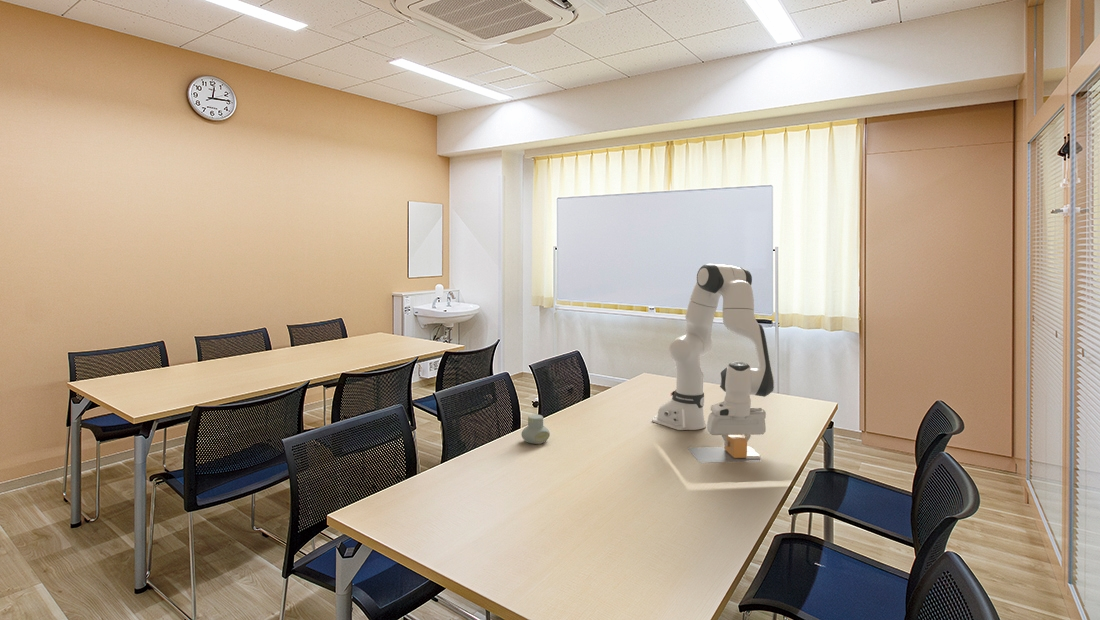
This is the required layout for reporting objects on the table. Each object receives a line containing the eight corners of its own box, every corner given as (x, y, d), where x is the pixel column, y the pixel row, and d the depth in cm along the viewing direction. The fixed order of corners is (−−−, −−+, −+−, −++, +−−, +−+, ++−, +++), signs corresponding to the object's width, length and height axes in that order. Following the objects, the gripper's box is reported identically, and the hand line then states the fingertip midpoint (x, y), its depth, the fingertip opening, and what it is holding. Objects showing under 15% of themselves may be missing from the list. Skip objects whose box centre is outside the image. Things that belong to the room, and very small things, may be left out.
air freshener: (530, 447, 204) (529, 422, 203) (518, 441, 211) (517, 416, 210) (553, 441, 211) (553, 416, 209) (541, 435, 217) (541, 411, 216)
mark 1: (740, 453, 195) (741, 451, 195) (736, 449, 199) (736, 446, 199) (754, 453, 195) (754, 450, 195) (749, 449, 199) (750, 446, 199)
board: (699, 466, 187) (699, 462, 187) (686, 451, 201) (686, 447, 201) (761, 465, 188) (762, 461, 188) (744, 450, 202) (744, 446, 202)
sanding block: (746, 457, 190) (747, 440, 189) (734, 457, 190) (734, 441, 189) (736, 448, 199) (737, 432, 198) (724, 448, 199) (724, 432, 198)
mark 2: (746, 458, 190) (746, 455, 190) (741, 454, 194) (741, 451, 194) (760, 458, 191) (760, 455, 190) (755, 454, 194) (755, 451, 194)
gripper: (761, 405, 196) (760, 442, 198) (706, 406, 195) (704, 443, 197) (769, 410, 190) (768, 448, 192) (712, 411, 189) (710, 449, 190)
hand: (735, 446), depth 194 cm, fingers open, 5 cm apart
